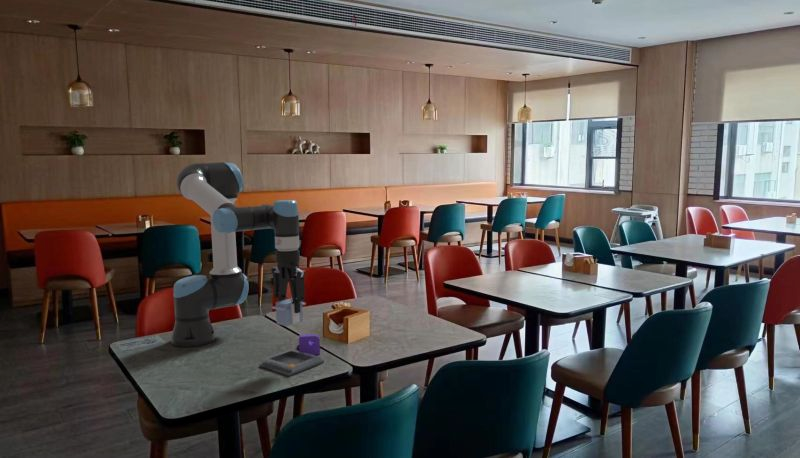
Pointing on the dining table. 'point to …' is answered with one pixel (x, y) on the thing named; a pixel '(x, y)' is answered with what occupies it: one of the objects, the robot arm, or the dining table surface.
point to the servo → (286, 312)
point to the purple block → (309, 344)
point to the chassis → (290, 362)
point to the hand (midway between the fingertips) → (290, 321)
